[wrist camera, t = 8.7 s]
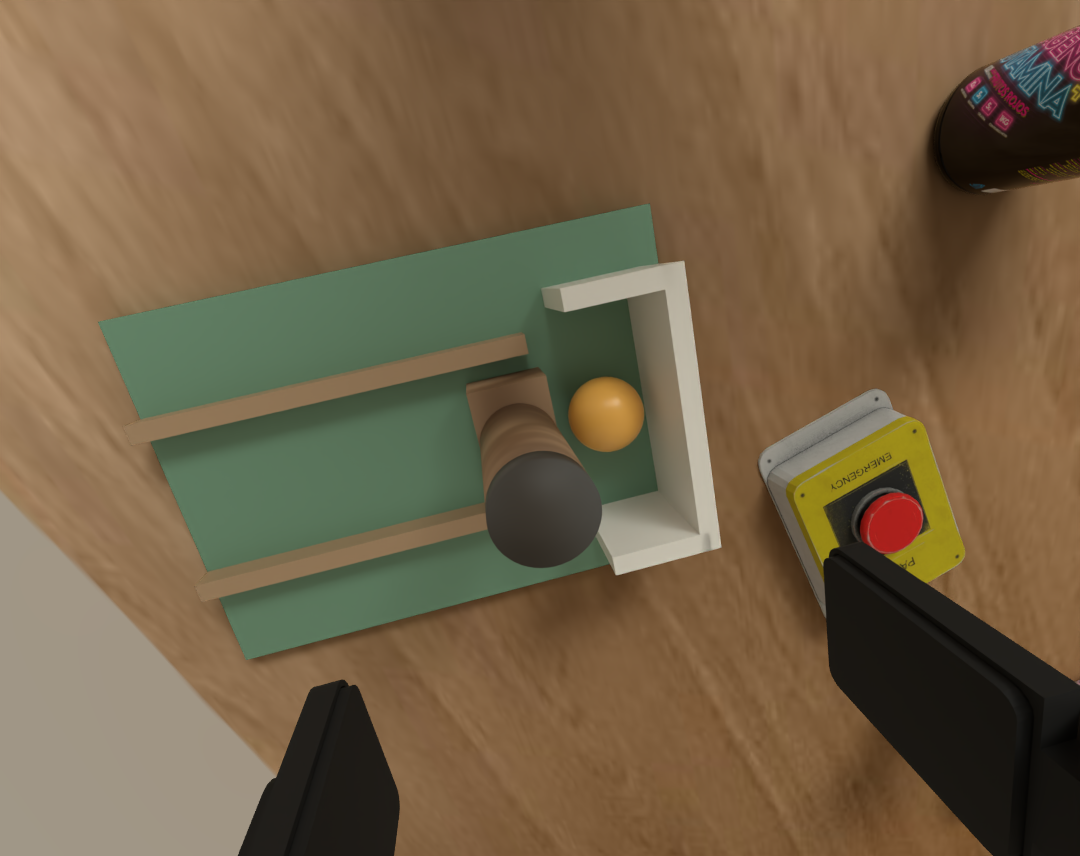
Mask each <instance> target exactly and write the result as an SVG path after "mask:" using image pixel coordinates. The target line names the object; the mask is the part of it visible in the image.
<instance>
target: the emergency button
mask: <svg viewBox="0 0 1080 856" xmlns="http://www.w3.org/2000/svg"><path fill="white" fill-rule="evenodd" d="M758 465H759V471H760V473H761V475H762V477H763V479H764V482H765V484H766V486H767V488H768V491H769V493H770V495H771V497H772V500H773V502H774V504H775V506H776V509H777V511H778V513H779V515H780V518H781V520H782V522H783V524H784V527H785V529H786V531H787V533H788V536H789V538H790V540H791V542H792V545H793V547H794V549H795V551H796V554H797V556H798V558H799V560H800V563H801V565H802V567H803V569H804V572H805V574H806V576H807V578H808V581H809V583H810V585H811V587H812V590H813V592H814V594H815V596H816V598H817V601H818V603H819V605H820V607H821V610H822V612H823V614H824V616H825V618H826V605H825V589H824V572H823V562H824V560H825V559H826V558H829V553H830V550H832V549H833V548H837V547H841V546H844V545H848V544H852V543H856V542H863V543H866V544H867V545H869V546H870V547H872V548H873V549H875V550H876V551H878V552H880V553H881V554H883V555H884V556H886V557H887V558H889V559H890V560H892V561H893V562H895V563H896V564H898V565H899V566H901V567H902V568H904V569H905V570H907V571H908V572H910V573H911V574H913V575H914V576H916V577H917V578H919V579H920V580H922V581H923V582H925V583H928V582H930V581H931V580H933V579H935V578H937V577H938V576H940V575H942V574H944V573H946V572H947V571H949V570H951V569H953V568H954V567H956V566H957V565H959V564H960V563H961V562H962V560H963V558H964V557H965V549H964V546H963V542H962V539H961V536H960V533H959V530H958V527H957V524H956V521H955V518H954V515H953V512H952V509H951V506H950V503H949V500H948V497H947V494H946V491H945V488H944V484H943V481H942V478H941V475H940V472H939V469H938V466H937V463H936V460H935V457H934V454H933V451H932V448H931V445H930V442H929V439H928V436H927V433H926V430H925V427H924V425H923V424H922V423H921V422H920V421H918V420H916V419H914V418H912V417H908V416H905V415H903V414H901V413H898V412H896V411H894V410H893V408H892V405H891V402H890V399H889V397H888V396H887V394H886V393H885V392H884V391H882V390H879V389H872V390H868V391H867V392H865V393H863V394H861V395H859V396H858V397H856V398H854V399H852V400H851V401H849V402H847V403H845V404H844V405H842V406H840V407H838V408H837V409H835V410H833V411H831V412H829V413H828V414H826V415H824V416H822V417H821V418H819V419H817V420H815V421H814V422H812V423H810V424H808V425H807V426H805V427H803V428H801V429H799V430H798V431H796V432H794V433H792V434H791V435H789V436H787V437H785V438H784V439H782V440H780V441H778V442H776V443H775V444H773V445H771V446H769V447H768V448H766V449H765V450H764V451H763V452H762V453H761V454H760V457H759V460H758Z"/></svg>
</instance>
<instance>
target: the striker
mask: <svg viewBox="0 0 1080 856" xmlns="http://www.w3.org/2000/svg"><path fill="white" fill-rule="evenodd" d="M466 395H467V399H468V403H469V407H470V411H471V415H472V419H473V423H474V427H475V430H476V434H477V438H478V442H479V446H480V452H481V464H482V476H483V488H484V500H485V512H486V523H487V529H488V532H489V535H490V537H491V539H492V541H493V543H494V545H495V546H496V547H497V549H498V550H499V551H500V552H501V553H502V554H503V555H504V556H506V557H507V558H508V559H510V560H512V561H513V562H515V563H518V564H520V565H523V566H527V567H532V568H550V567H555V566H558V565H562V564H564V563H567V562H569V561H571V560H572V559H574V558H576V557H577V556H578V555H580V554H581V553H582V552H583V551H584V550H585V549H586V548H587V547H588V546H589V545H590V544H591V542H592V541H593V539H594V538H595V536H596V534H597V532H598V530H599V527H600V523H601V518H602V503H601V498H600V495H599V492H598V490H597V488H596V486H595V484H594V483H593V481H592V480H591V478H590V476H589V475H588V473H587V472H586V470H585V469H584V467H583V466H582V464H581V463H580V461H579V460H578V458H577V456H576V455H575V453H574V452H573V450H572V449H571V447H570V446H569V444H568V443H567V441H566V440H565V438H564V437H563V435H562V433H561V432H560V430H559V429H558V427H557V425H556V420H555V415H554V411H553V406H552V401H551V396H550V392H549V387H548V382H547V378H546V375H545V374H544V373H543V372H542V370H541V369H540V368H539V367H535V368H531V369H527V370H523V371H518V372H514V373H510V374H505V375H501V376H497V377H493V378H488V379H484V380H480V381H476V382H471V383H467V384H466Z"/></svg>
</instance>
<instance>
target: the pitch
mask: <svg viewBox="0 0 1080 856" xmlns="http://www.w3.org/2000/svg"><path fill="white" fill-rule="evenodd" d="M654 264H658V257H657V250H656V243H655V236H654V229H653V222H652V215H651V208H650V203H649V204H644V205H640V206H635V207H631V208H626V209H621V210H617V211H612V212H607V213H603V214H598V215H593V216H589V217H584V218H579V219H575V220H570V221H565V222H561V223H556V224H551V225H547V226H542V227H537V228H533V229H528V230H523V231H519V232H514V233H510V234H505V235H500V236H496V237H491V238H486V239H482V240H477V241H472V242H468V243H463V244H458V245H454V246H449V247H444V248H440V249H435V250H430V251H426V252H421V253H416V254H412V255H407V256H402V257H398V258H393V259H389V260H384V261H379V262H375V263H370V264H365V265H361V266H356V267H351V268H347V269H342V270H337V271H333V272H328V273H323V274H319V275H314V276H309V277H305V278H300V279H295V280H291V281H286V282H281V283H277V284H272V285H268V286H263V287H258V288H254V289H249V290H244V291H240V292H235V293H230V294H226V295H221V296H216V297H212V298H207V299H202V300H198V301H193V302H188V303H184V304H179V305H174V306H170V307H165V308H160V309H156V310H151V311H146V312H142V313H137V314H133V315H128V316H123V317H119V318H114V319H109V320H105V321H100V322H98V323H99V325H100V328H101V330H102V332H103V335H104V337H105V339H106V341H107V344H108V346H109V348H110V351H111V353H112V355H113V357H114V360H115V362H116V364H117V366H118V369H119V371H120V373H121V376H122V378H123V380H124V382H125V385H126V387H127V389H128V392H129V394H130V396H131V398H132V401H133V403H134V405H135V408H136V410H137V412H138V414H139V417H140V420H138V421H135V422H133V423H130V424H128V425H125V426H123V429H124V431H125V433H126V436H127V438H128V440H129V442H130V444H131V446H133V445H137V444H141V443H146V442H151V444H152V446H153V449H154V451H155V453H156V455H157V458H158V460H159V462H160V465H161V467H162V469H163V471H164V474H165V476H166V478H167V480H168V483H169V485H170V487H171V490H172V492H173V494H174V496H175V499H176V501H177V503H178V506H179V508H180V510H181V512H182V515H183V517H184V519H185V522H186V524H187V526H188V528H189V531H190V533H191V535H192V537H193V540H194V542H195V544H196V547H197V549H198V551H199V553H200V556H201V558H202V560H203V563H204V565H205V567H206V569H207V573H206V574H205V575H204V576H203V577H202V578H201V579H200V581H199V582H198V583H197V584H196V585H195V586H194V587H195V589H196V591H197V593H198V595H199V598H200V600H201V602H205V601H208V600H212V599H216V598H219V599H220V601H221V604H222V606H223V608H224V610H225V613H226V615H227V617H228V620H229V622H230V624H231V626H232V629H233V631H234V633H235V636H236V638H237V640H238V642H239V645H240V647H241V649H242V652H243V654H244V656H245V658H246V660H248V659H252V658H256V657H260V656H263V655H267V654H271V653H275V652H279V651H282V650H286V649H290V648H294V647H298V646H301V645H305V644H309V643H313V642H316V641H320V640H324V639H328V638H332V637H335V636H339V635H343V634H347V633H351V632H354V631H358V630H362V629H366V628H370V627H373V626H377V625H381V624H385V623H388V622H392V621H396V620H400V619H404V618H407V617H411V616H415V615H419V614H423V613H426V612H430V611H434V610H438V609H441V608H445V607H449V606H453V605H457V604H460V603H464V602H468V601H472V600H476V599H479V598H483V597H487V596H491V595H495V594H498V593H502V592H506V591H510V590H513V589H517V588H521V587H525V586H529V585H532V584H536V583H540V582H544V581H548V580H551V579H555V578H559V577H563V576H566V575H570V574H574V573H578V572H582V571H585V570H589V569H593V568H597V567H601V566H604V565H608V564H610V563H609V561H608V559H607V557H606V555H605V553H604V551H603V550H602V548H601V546H600V544H599V542H598V540H597V538H596V536H595V538H594V539H593V541H592V542H591V544H590V545H589V546H588V547H587V548H586V549H585V550H584V551H583V552H582V553H581V554H580V555H578V556H577V557H576V558H574V559H572V560H571V561H569V562H567V563H564V564H562V565H558V566H555V567H550V568H532V567H527V566H523V565H520V564H518V563H515V562H513V561H512V560H510V559H508V558H507V557H506V556H504V555H503V554H502V553H501V552H500V551H499V550H498V549H497V547H496V546H495V545H494V543H493V541H492V539H491V537H490V535H489V532H488V529H487V523H486V512H485V500H484V488H483V476H482V464H481V452H480V446H479V442H478V438H477V434H476V430H475V427H474V423H473V419H472V415H471V411H470V407H469V403H468V399H467V395H466V384H467V383H471V382H476V381H480V380H484V379H488V378H493V377H497V376H501V375H505V374H510V373H514V372H518V371H523V370H527V369H531V368H535V367H539V368H540V369H541V370H542V372H543V373H544V374H545V375H546V378H547V382H548V387H549V392H550V396H551V401H552V406H553V411H554V415H555V420H556V425H557V427H558V429H559V430H560V432H561V433H562V435H563V437H564V438H565V440H566V441H567V443H568V444H569V446H570V447H571V449H572V450H573V452H574V453H575V455H576V456H577V458H578V460H579V461H580V463H581V464H582V466H583V467H584V469H585V470H586V472H587V473H588V475H589V476H590V478H591V480H592V481H593V483H594V484H595V486H596V488H597V490H598V492H599V495H600V498H601V503H602V505H604V504H608V503H611V502H615V501H619V500H623V499H627V498H631V497H635V496H639V495H643V494H647V493H651V492H655V491H658V487H657V480H656V474H655V468H654V462H653V456H652V449H651V443H650V437H649V431H648V425H647V419H646V412H645V406H644V400H643V394H642V388H641V381H640V375H639V369H638V363H637V357H636V350H635V344H634V338H633V332H632V326H631V320H630V313H629V307H628V301H627V298H625V299H621V300H617V301H612V302H608V303H603V304H599V305H595V306H590V307H586V308H581V309H577V310H573V311H568V312H561V311H557V310H553V309H549V308H545V306H544V301H543V296H542V291H541V288H545V287H550V286H554V285H559V284H563V283H568V282H572V281H576V280H581V279H585V278H590V277H594V276H599V275H603V274H608V273H612V272H617V271H621V270H626V269H630V268H635V267H639V266H646V265H654ZM599 377H614V378H618V379H621V380H623V381H625V382H627V383H628V384H630V385H631V386H632V387H633V388H634V389H635V390H636V392H637V393H638V394H639V396H640V398H641V400H642V403H643V407H644V421H643V425H642V428H641V430H640V432H639V434H638V435H637V437H636V438H635V439H634V440H633V441H632V442H631V443H630V444H629V445H627V446H626V447H624V448H622V449H620V450H616V451H612V452H600V451H596V450H593V449H590V448H588V447H586V446H585V445H583V444H582V443H581V442H580V441H579V440H578V439H577V438H576V437H575V435H574V434H573V432H572V430H571V427H570V424H569V419H568V410H569V405H570V402H571V399H572V397H573V395H574V394H575V392H576V391H577V390H578V389H579V388H580V387H581V386H582V385H583V384H584V383H586V382H588V381H590V380H592V379H594V378H599Z"/></svg>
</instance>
